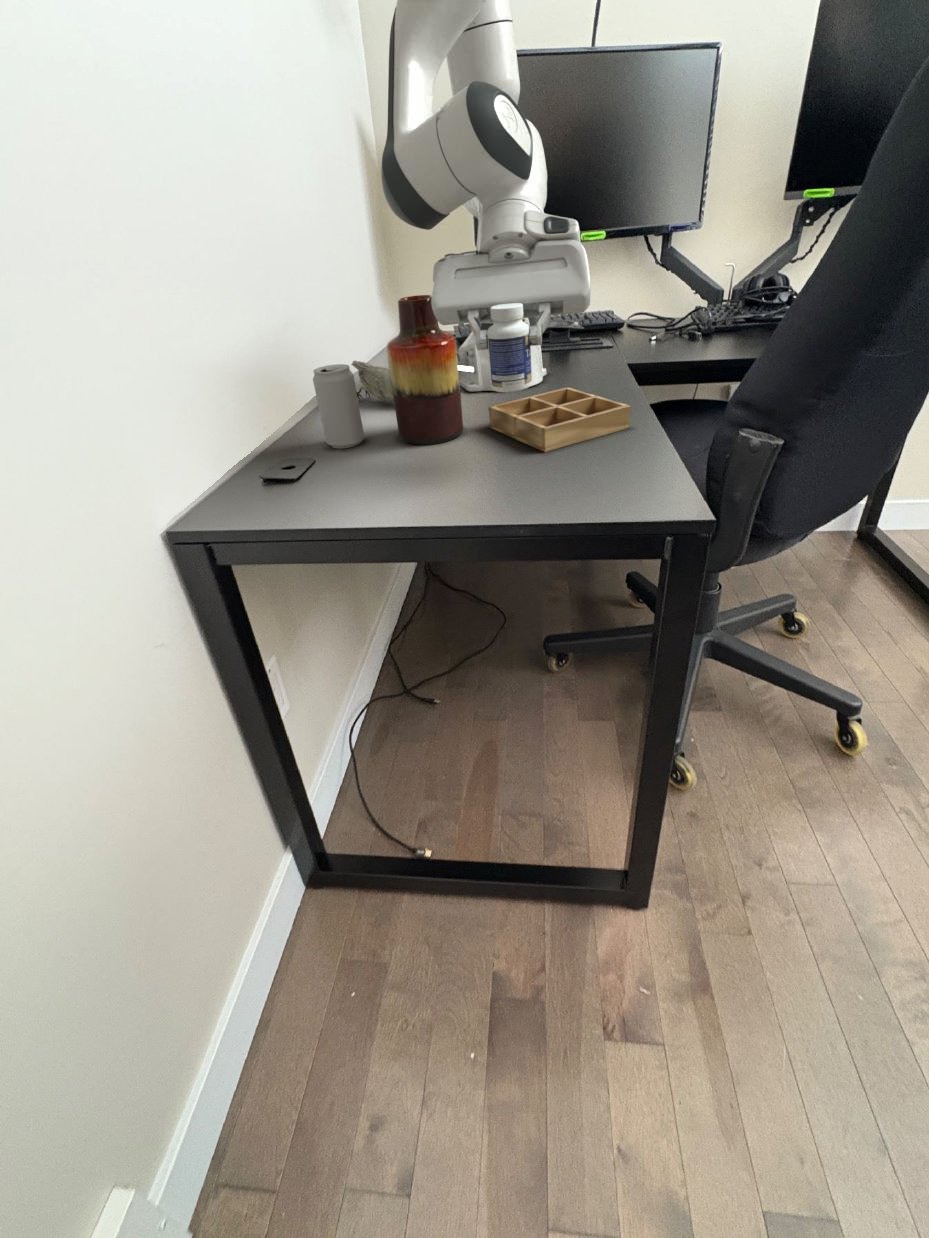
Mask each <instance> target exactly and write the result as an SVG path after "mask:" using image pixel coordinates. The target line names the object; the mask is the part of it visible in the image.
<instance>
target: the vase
mask: <svg viewBox="0 0 929 1238" xmlns="http://www.w3.org/2000/svg"><path fill="white" fill-rule="evenodd" d="M431 301H432V294H431V295H430V294H419V295H410V296H405V297H401V298H398V299H397V313H398V315H397V316H398V328H399V329H398V330H399V331H398V333H397V334H396V335H395V336H394V337H392V338H391V339H389V340H388V342H387V343H386V346H385V349H386V355H387V363H388V369H389V371H390V377H391V384H392V391H393V398H394V404H393V405H394V410H395V418H396V425H397V430H398V437H399V440H400V441H401V442H403V443H406V444H410V445H417V446H422V445H423V446H425V445H427V446H428V445H437V444H442V443H447V442H449V441H453V440H455V439H457V438H458V437H460V436H462V434H463V432H464V420H463V410H462V397H461V386H460V384H459V373H458V361H457V353H458V351H457V341H456V337H455V336H454V335H453V334H451V333H449V332H447V331H444V330H443V329H441V328H440V326H439V322H438V320H437V319H436V318H435V315H434V313H433V310H432V305H431Z"/></svg>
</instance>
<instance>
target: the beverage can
mask: <svg viewBox="0 0 929 1238" xmlns="http://www.w3.org/2000/svg"><path fill="white" fill-rule="evenodd" d="M350 368H351V367H350V365H349V364H344V363H340V364H339V363H337V364H327V365H324V366H323V365H322V366H320V367H317V368H314V369H313V374H314V375H313V378H312V383H313V387H314V391H315V397H316V400H317V405H318V410H319V415H320V419H321V424H322V428H323V433H324V438H325V442H326V444H327V445H329V446H331V448H334V449H348V448H349V449H350V448H353V447H356V446H358V445H360V444H361V443H362V441H363V440H364V439H365V431H364V426H363V421H362V415H361V410H360V404H359V399H358V397H357V392H358V391H357V386H356V382H355V376H354V373H353V372H352V371H351V369H350ZM356 391H357V392H356Z"/></svg>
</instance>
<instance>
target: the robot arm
mask: <svg viewBox="0 0 929 1238" xmlns="http://www.w3.org/2000/svg"><path fill="white" fill-rule="evenodd" d="M513 20H514V19H513V12H512V5H511V0H397V1H396V5H395V8H394V11H393V16H392V21H391V24H390V32H389V48H388V80H387V81H388V83H387V127H386V129H387V131H386V140H385V144H384V149H383V151H382V157H381V167H380V175H381V186H382V191H383V194H384V195H383V196H384V198H385V200H386V202H387V204H388V206H389V207H390V210H391V211H392V212H393V213H394V215H395V216H396V217H397V218H398V219H399V220H401V221H403V222H404V223H406V224H407V225H410V226H411V227H414V228H418V229H421V230H427V231H430V230H432V229H433V228H435V227H436V226H437V225H439V224H440V223H441V222H442V221H443V220H445V219H446V218H447V217H448V216H449V215H451V213H452V212H454V211H456V210H457V209H458V208H461V206H463V207H464V208H465V210H467V211H468V212H469V213H470V214H471V215H472V216H473V217H474V218H476V219H477V220H478V221H477V235H476V236H477V237H476V245H475V250H470V251H464V252H459V253H447V254H444V256H443V257H442V258H440V259H439V260H437V261H435V263H434V265H433V270H432V280H433V281H432V282H433V285H432V286H433V287H432V293H431V295H432V301H431V305H432V310H433V313H434V315H435V318H436V319H437V320H438V324H440V325H442V326H451V325H461V324H462V325H463V324H468V325H469V327H470V330H471V332H470V333H469V335H468V336H467V338H466V339H465V340H464V342H463V343H462V344H461V345H460V346H459V349H458V352H457V361H458V373H459V384H460V388H463V389H464V390H466V391H467V392H482V391H488V392H495V391H494V390H493V389H492V387H491V378H490V364H489V353H488V340H487V331H488V329H489V327H491V326H492V325H493V320H492V319H491V307H492V306H495V305H500V304H510V303H521V304H523V313H524V314H523V317H522V322H525V323H526V324H527V325H528V326H529V332H530V334H529V341H530V348H531V375H532V384H531V386H530V387H533V386H536V385H538V384H540V383H541V382H543V379H544V377H545V376H546V375H547V374H548V373H547V371H548V370H547V368H545V367H543V358H542V345H543V334H544V333H545V331H546V330H547V328H548V327H549V325H550V324H551V323H552V316H561V315H571V314H572V315H573V314H582V313H585V312H586V310H588V308H589V307H590V305H591V299H592V298H591V272H590V263H589V259H588V254H587V251H586V249H585V247H584V245H583V244H582V241H581V230H580V225H579V222H578V220H576V219H574V218H570V217H564V216H559V215H555V214H554V215H553V214H549V213H545V211H544V210H545V207H546V203H547V199H548V169H547V163H546V156H545V155H546V154H545V150H544V149H545V148H544V145H543V141H542V137H541V135H540V132H539V130H538V129H537V127H535V125H534V124H533V123H532V122H531V121H530V120H529V119H528V118H526V116H525V114H524V113H523V111H522V110H521V108H520V106H519V105H518V104H519V99H520V94H521V81H520V71H519V64H518V63H519V62H518V55H517V47H516V46H517V45H516V38H515V30H514V29H515V28H514V21H513ZM445 60H446V65H447V69H448V77H449V84H450V89H451V90H450V91H451V96H452V97H451V98H449V99H448V100H447V101H446V102H444V103H443V104H442V105H441V106H440V107H439V108H438V109H437V110H436V111H434V88H435V83H436V79H437V76H438V73H439V71H440V69H441V67H442V65H443V62H444V61H445ZM538 317H539V319H538V320H537V318H538Z"/></svg>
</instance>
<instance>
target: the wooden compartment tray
mask: <svg viewBox="0 0 929 1238" xmlns="http://www.w3.org/2000/svg"><path fill="white" fill-rule="evenodd" d="M630 417H631V405H629V404H627V403H623V402H619V401H616V400H612V399H609V398H605V397H602V396H599V395H596V394H592V393H589V392H585V391H583V390H580V389H575V388H572V387H569V386H567V387H561V388H557V389H555V390H550V391H546V392H543V393H542V392H541V393H538V394H534V395H529V396H526V397H522V398H518V399H513V400H510V401H505V402H502V403H497V404H493V405H489V406H488V419H489V428H490V429H491V430H494V431H497V432H498V433H501V434H503V435H505V436H507V437H509V438H512V439H514V440H516V441H518V442H521V443H523V444H525V445H528V446H530V447H532V448H534V449H536V450H539V451H541V452H544V453H548V452H551V451H554V450H557V449H561V448H565V447H568V446H573V445H576V444H579V443H582V442H586V441H589V440H592V439H596V438H599V437H602V436H606V435H607V436H608V435H611V434H614V433H617V432H620V431H623V430H627V429H630Z"/></svg>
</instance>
